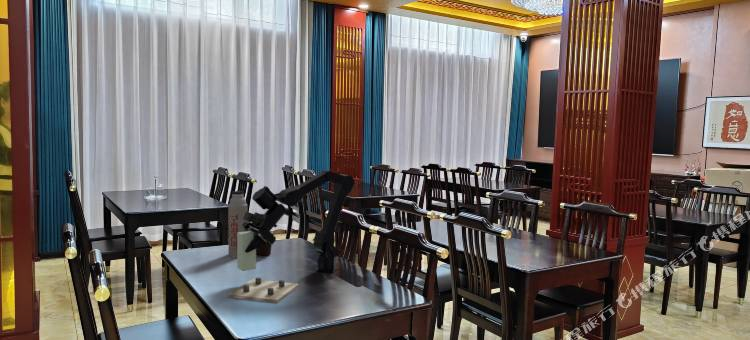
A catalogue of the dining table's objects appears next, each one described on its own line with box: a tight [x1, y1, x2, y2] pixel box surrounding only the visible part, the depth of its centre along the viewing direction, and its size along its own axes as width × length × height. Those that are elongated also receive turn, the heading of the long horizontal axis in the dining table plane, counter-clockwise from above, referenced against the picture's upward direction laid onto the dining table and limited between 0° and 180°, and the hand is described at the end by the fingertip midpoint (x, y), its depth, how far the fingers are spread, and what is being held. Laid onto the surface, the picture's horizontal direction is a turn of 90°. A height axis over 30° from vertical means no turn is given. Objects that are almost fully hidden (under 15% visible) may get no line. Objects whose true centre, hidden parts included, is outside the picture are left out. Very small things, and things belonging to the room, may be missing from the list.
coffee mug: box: [256, 230, 274, 258], centre depth 234 cm, size 12×9×10 cm
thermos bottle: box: [227, 190, 248, 258], centre depth 231 cm, size 8×8×28 cm
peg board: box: [227, 277, 299, 304], centre depth 183 cm, size 18×18×3 cm
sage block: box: [236, 231, 257, 272], centre depth 190 cm, size 5×5×13 cm
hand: (242, 250), depth 190 cm, fingers closed on sage block, 5 cm apart
